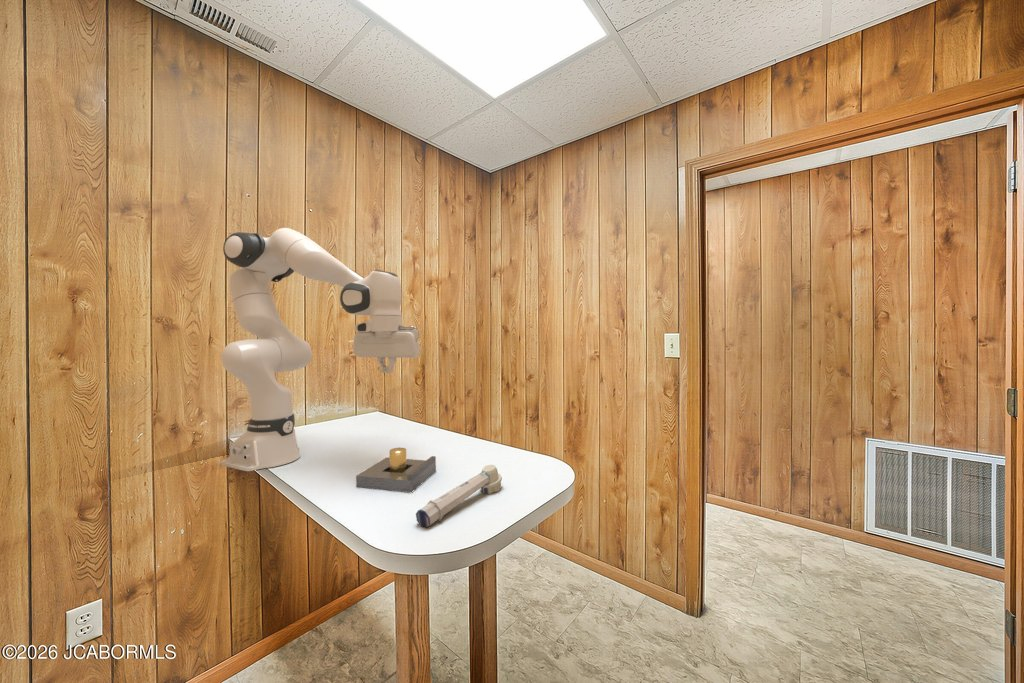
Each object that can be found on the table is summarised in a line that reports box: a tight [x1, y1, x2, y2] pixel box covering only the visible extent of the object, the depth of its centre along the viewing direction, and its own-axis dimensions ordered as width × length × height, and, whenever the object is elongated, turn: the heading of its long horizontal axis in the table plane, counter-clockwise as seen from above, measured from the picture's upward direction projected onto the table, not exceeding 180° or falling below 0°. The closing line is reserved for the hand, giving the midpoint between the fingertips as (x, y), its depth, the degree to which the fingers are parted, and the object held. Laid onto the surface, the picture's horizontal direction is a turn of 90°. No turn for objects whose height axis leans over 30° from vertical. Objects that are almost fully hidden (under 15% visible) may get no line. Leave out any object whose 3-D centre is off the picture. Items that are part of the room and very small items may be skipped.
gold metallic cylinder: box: [389, 447, 407, 473], centre depth 101 cm, size 4×4×8 cm
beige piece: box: [415, 464, 503, 529], centre depth 86 cm, size 5×7×25 cm
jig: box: [355, 455, 437, 493], centre depth 101 cm, size 16×14×4 cm
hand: (387, 372), depth 109 cm, fingers closed
